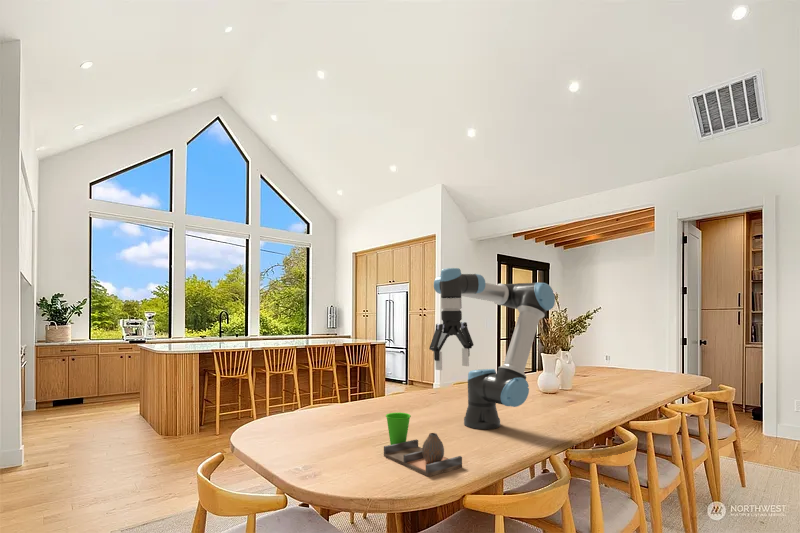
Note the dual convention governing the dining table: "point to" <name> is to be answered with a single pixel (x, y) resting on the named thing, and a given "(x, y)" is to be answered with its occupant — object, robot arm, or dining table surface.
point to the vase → (433, 449)
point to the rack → (419, 459)
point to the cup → (398, 427)
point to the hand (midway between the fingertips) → (452, 367)
